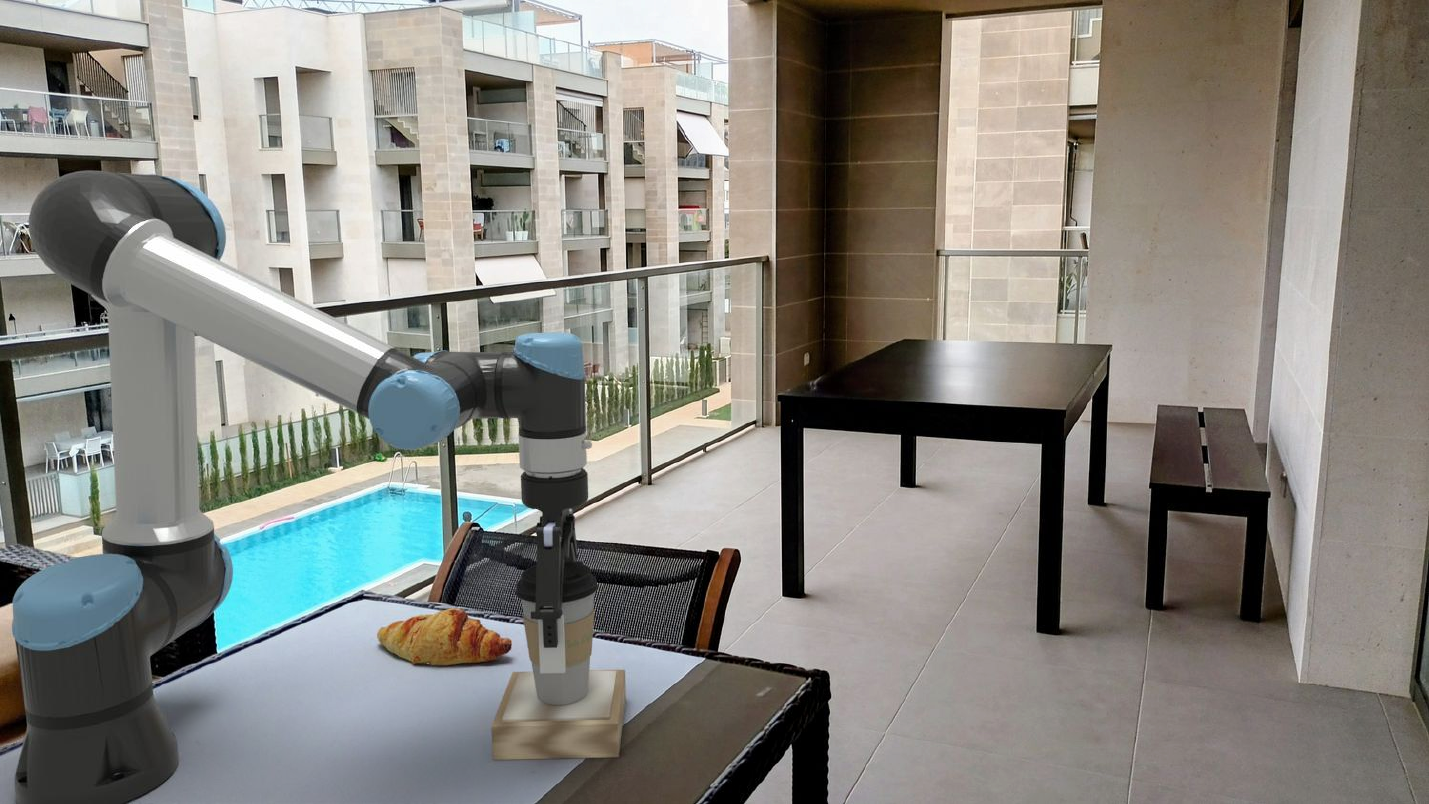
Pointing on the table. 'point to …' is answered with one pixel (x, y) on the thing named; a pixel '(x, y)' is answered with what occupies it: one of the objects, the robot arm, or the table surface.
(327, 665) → the table surface
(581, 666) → the coffee cup
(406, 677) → the table surface
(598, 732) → the plinth
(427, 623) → the croissant
